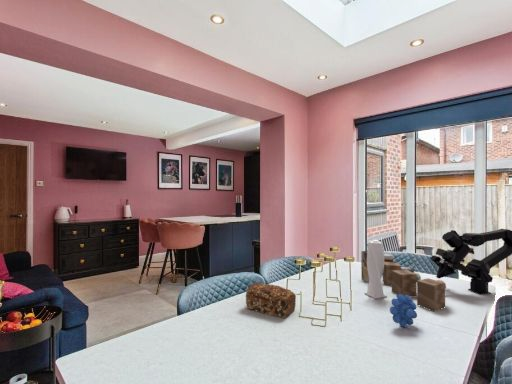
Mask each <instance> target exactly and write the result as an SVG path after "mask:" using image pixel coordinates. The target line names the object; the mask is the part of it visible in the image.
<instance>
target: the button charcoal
mask: <svg viewBox="0 0 512 384" xmlns="http://www.w3.org/2000/svg"><path fill="white" fill-rule="evenodd" d="M401 270H408V271H410V272H413V273H414V272H415V267H414V265H410V266H409V267H407V266H401Z"/></svg>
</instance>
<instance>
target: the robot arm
mask: <svg viewBox="0 0 512 384" xmlns="http://www.w3.org/2000/svg"><path fill="white" fill-rule="evenodd" d="M441 238H442V240H443V241H444V242H445V244H446V245H448V246H449V247H450V248H452V249H447V250H446V249H442V248H437V250H436V251H435V255H431V256H430V258H429V259H430V260H431V261H432V262H433V263H434V264H435V265H436V266H437V267H438V270H437V273H436V278H437V279H442V278H444V277H447V276H451V275H454V274H455V275H456V274H457V271H460V274H461V275H463V276H465V277H468V278H470V283H469V285H470V286H469V287H470V288H468V289H467V290H468V291H470V290H471V291H470V292H472V291H473V293H475V294H477V293H478V294H477V295H492V292H490V291H489V283H492V282H493V277H492V275H491V274H490V272H491V269H492V268H493V267H495V266H496V265H498V264H500V263H501V262H502V261H504V260H506V259H507V258H508V257H510V256H512V230H511V229H509V228H508V229H507V228H500V229H495V230H491V231H486V232H485V231H484V232H479V233H475V232H465V233H464V232H463V234H462V235H460V234H458V232H457V231H456V230H453V229H452V230H450V231H448V232H445V233H444V234H443V235H442V237H441ZM496 240H502V241H503V245H502V246H501V247H499V248H498V249H496V250H495V251H493V252H491V253H490V254H488V255H486V256H485V257H484V258H482V259H480V260H479V259H476V258H473V259H471V260H470V261H469V262H467V263H466V264H463V263H464V262H466V261H465V258H466V257H467V256H468V255H469V254H471V255H475V251H474V248H473V247H479V246H482V245H484V244H485V243H487V242H491V241H496Z"/></svg>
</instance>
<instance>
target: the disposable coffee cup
mask: <svg viewBox="0 0 512 384" xmlns="http://www.w3.org/2000/svg"><path fill="white" fill-rule="evenodd" d="M394 259H395V255H394V254H393V253H392V254H391V253H387V252H384V262H393V263H394ZM382 276H383V274H382Z"/></svg>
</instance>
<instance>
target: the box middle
mask: <svg viewBox="0 0 512 384" xmlns="http://www.w3.org/2000/svg"><path fill="white" fill-rule="evenodd" d="M391 293H393V294H395V295H396V296H397V295H398V294H402V295H404V296H406V295H408V296H410V297H411V298H412V296H417V274H415V273H413V272H410V271H408V270H392V285H391Z"/></svg>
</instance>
